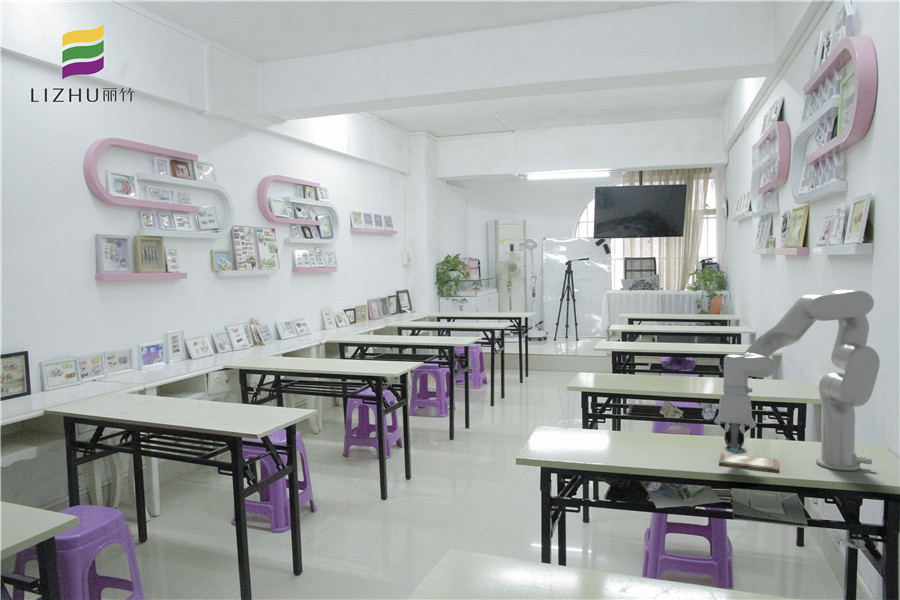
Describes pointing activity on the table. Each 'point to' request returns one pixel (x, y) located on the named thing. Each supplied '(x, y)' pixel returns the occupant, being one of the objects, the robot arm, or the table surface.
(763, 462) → the brown picture frame
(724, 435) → the vase
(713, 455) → the table surface
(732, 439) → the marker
